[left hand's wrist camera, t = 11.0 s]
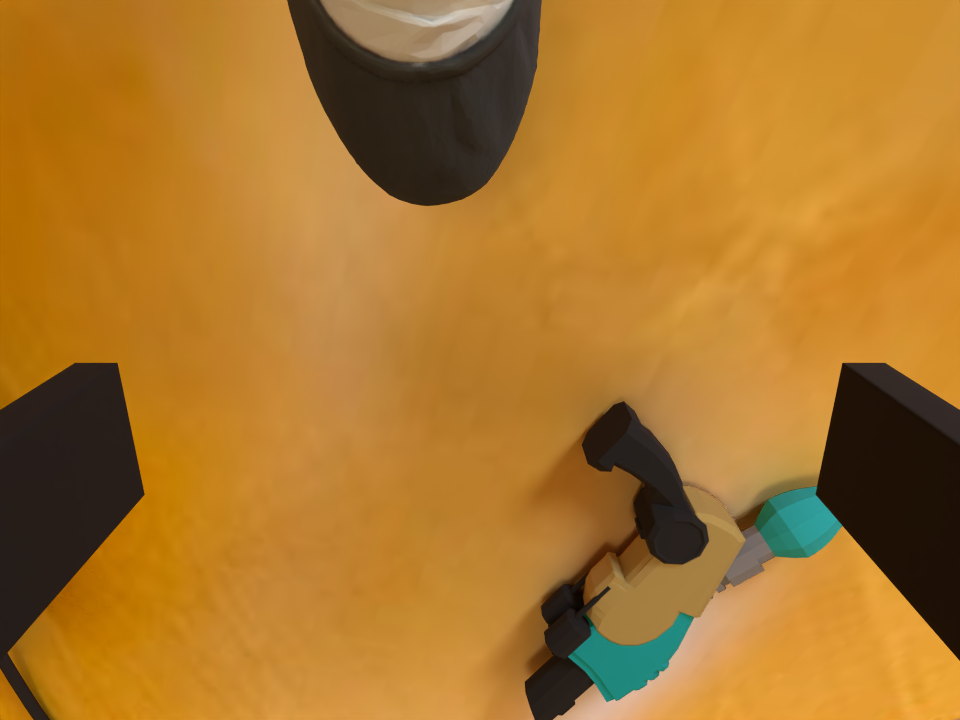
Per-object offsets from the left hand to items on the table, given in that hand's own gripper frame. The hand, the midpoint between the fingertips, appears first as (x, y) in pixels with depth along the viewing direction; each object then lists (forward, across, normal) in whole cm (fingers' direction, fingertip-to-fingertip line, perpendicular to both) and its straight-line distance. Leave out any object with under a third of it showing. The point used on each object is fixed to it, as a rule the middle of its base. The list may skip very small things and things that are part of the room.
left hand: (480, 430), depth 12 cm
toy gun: (+26, -9, +22) cm, 35 cm away
